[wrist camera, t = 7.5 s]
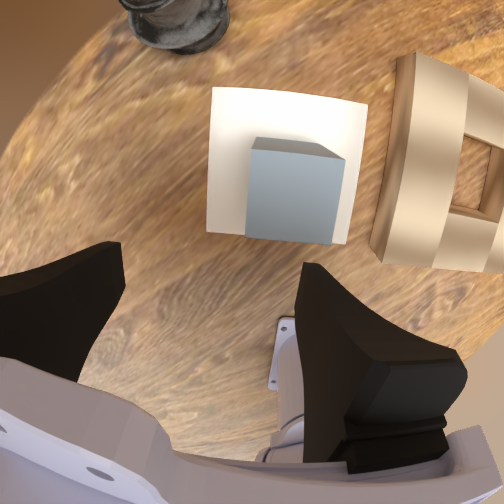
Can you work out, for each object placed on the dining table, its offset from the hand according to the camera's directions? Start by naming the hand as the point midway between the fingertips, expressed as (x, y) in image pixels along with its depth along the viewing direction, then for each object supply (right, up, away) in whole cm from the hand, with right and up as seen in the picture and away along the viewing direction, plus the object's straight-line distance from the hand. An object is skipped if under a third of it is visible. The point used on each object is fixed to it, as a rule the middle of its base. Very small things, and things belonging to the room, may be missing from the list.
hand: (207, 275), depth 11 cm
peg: (+4, +6, +8) cm, 11 cm away
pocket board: (+18, +7, +7) cm, 21 cm away
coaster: (+4, +7, +8) cm, 11 cm away
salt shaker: (-2, +16, +4) cm, 17 cm away
